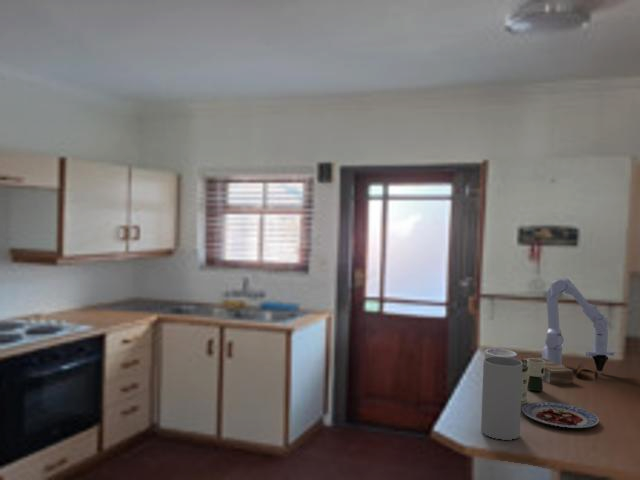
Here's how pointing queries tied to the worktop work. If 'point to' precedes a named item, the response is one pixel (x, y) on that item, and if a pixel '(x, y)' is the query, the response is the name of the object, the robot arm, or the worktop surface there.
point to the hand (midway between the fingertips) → (599, 370)
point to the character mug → (535, 374)
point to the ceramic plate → (560, 415)
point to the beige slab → (554, 372)
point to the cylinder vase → (501, 397)
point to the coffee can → (524, 384)
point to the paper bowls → (500, 353)
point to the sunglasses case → (586, 372)
